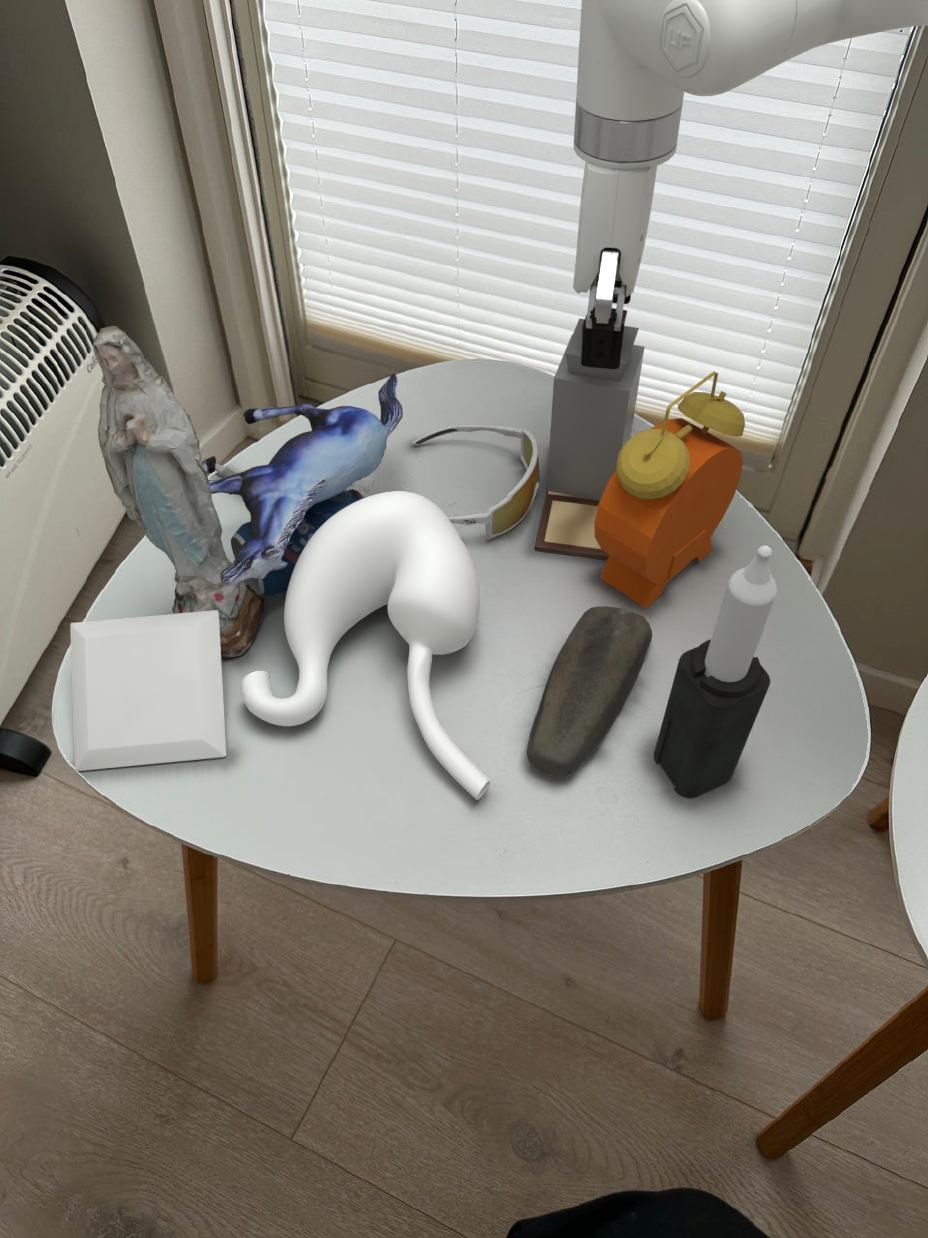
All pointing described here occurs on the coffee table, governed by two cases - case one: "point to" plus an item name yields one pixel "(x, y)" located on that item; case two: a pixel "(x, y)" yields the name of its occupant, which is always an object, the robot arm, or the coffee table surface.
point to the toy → (304, 474)
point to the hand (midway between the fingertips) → (606, 332)
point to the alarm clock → (669, 495)
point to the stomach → (363, 582)
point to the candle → (719, 688)
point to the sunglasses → (516, 500)
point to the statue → (168, 487)
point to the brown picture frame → (569, 526)
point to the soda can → (294, 541)
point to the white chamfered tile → (147, 690)
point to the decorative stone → (587, 688)
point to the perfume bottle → (591, 417)
